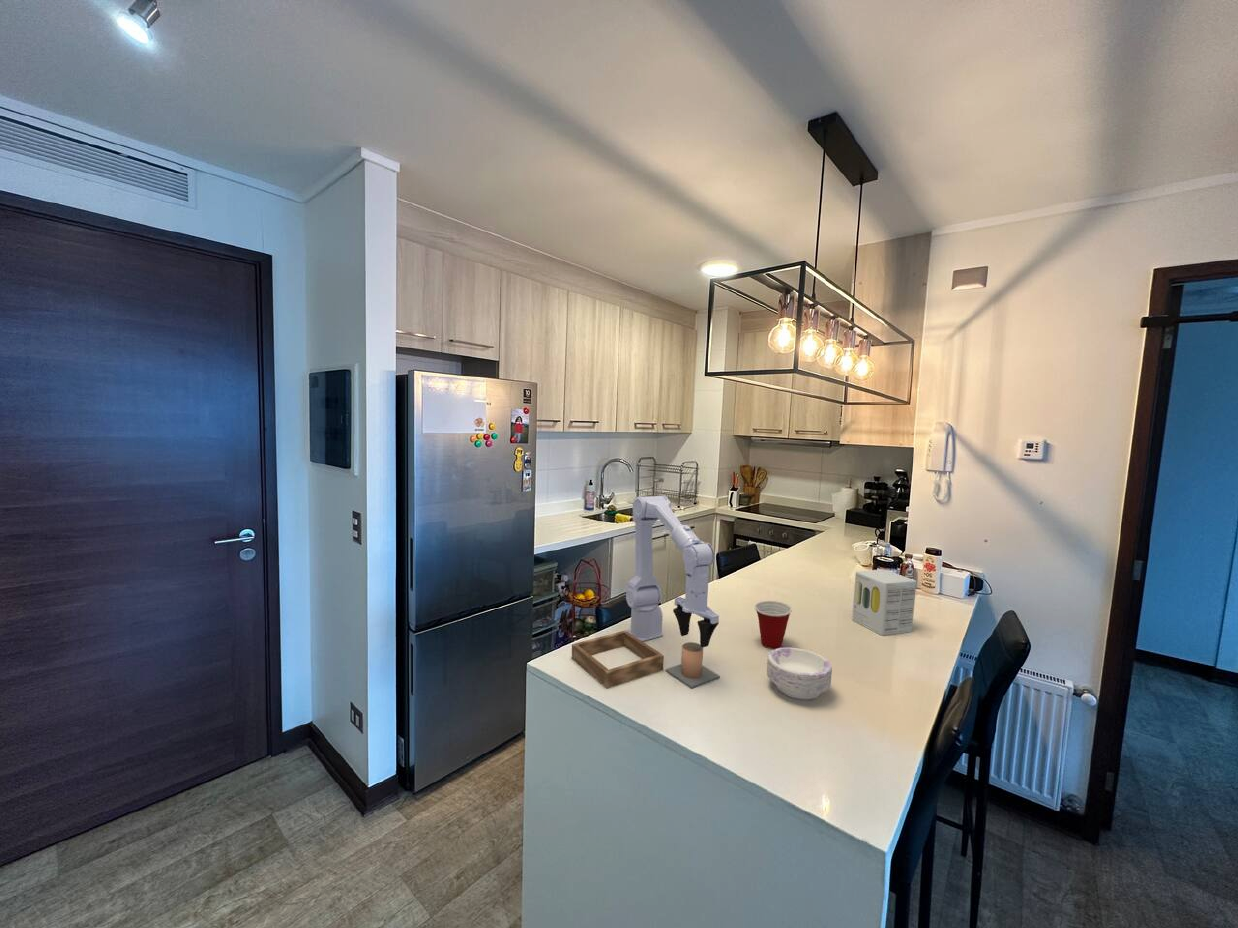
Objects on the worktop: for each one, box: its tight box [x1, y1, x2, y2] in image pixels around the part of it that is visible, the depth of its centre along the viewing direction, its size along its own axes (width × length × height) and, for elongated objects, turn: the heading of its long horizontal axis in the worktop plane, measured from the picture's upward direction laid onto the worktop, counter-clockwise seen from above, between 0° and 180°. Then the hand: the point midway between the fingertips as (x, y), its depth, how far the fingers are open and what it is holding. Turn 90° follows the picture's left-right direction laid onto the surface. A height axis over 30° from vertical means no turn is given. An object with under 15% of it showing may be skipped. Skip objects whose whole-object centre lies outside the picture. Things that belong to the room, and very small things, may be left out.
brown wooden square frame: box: [571, 630, 665, 689], centre depth 132 cm, size 18×18×4 cm
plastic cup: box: [754, 600, 793, 650], centre depth 147 cm, size 11×11×12 cm
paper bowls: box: [766, 647, 833, 701], centre depth 122 cm, size 15×15×8 cm
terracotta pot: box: [680, 641, 704, 678], centre depth 127 cm, size 6×6×7 cm
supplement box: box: [851, 568, 917, 636], centre depth 164 cm, size 13×13×18 cm
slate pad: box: [665, 664, 721, 690], centre depth 128 cm, size 10×10×1 cm
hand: (694, 640), depth 127 cm, fingers open, 7 cm apart
